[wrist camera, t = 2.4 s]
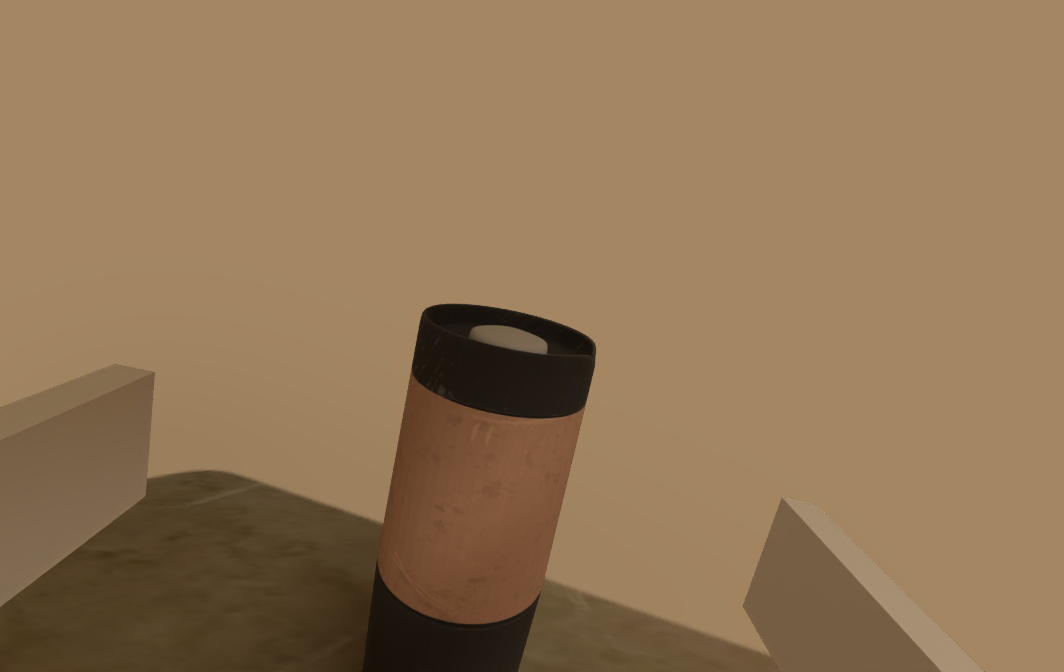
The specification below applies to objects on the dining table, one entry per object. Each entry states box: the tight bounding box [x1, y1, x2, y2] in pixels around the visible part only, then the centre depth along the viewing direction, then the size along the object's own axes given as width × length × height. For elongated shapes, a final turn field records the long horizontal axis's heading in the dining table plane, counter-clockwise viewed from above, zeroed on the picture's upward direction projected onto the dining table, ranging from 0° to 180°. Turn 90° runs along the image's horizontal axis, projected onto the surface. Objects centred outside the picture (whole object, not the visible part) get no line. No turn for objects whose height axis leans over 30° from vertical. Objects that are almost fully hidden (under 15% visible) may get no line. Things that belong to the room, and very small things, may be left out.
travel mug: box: [362, 304, 596, 672], centre depth 25 cm, size 8×8×20 cm
